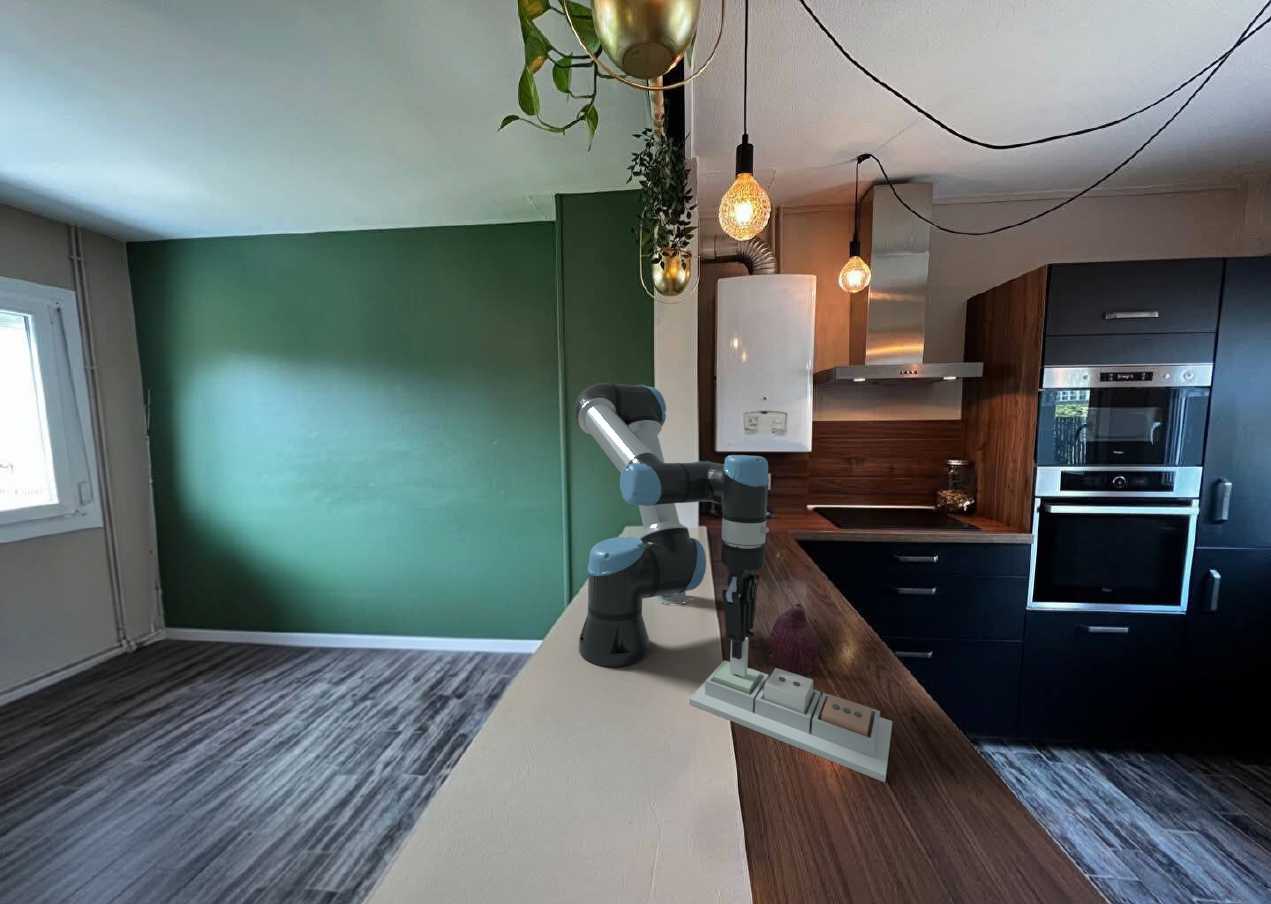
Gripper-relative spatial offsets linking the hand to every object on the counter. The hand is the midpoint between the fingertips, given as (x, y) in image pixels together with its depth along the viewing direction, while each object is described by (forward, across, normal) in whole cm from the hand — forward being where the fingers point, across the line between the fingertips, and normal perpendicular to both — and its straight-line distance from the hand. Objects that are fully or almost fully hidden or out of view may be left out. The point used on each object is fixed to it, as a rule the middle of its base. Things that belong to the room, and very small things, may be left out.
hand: (738, 672), depth 80 cm
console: (+5, 0, -9) cm, 10 cm away
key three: (+4, 0, -18) cm, 18 cm away
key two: (+2, 0, -9) cm, 9 cm away
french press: (+5, +34, +31) cm, 46 cm away
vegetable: (+5, +19, -5) cm, 20 cm away
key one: (+3, 0, 0) cm, 3 cm away
